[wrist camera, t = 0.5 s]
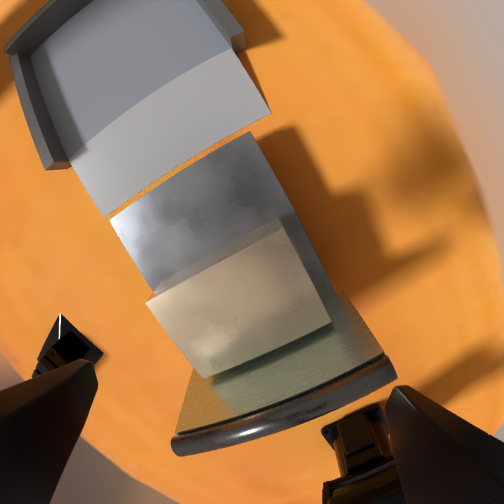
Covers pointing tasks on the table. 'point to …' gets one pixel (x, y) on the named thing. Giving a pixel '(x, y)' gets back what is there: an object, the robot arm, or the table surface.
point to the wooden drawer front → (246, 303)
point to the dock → (130, 88)
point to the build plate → (65, 348)
